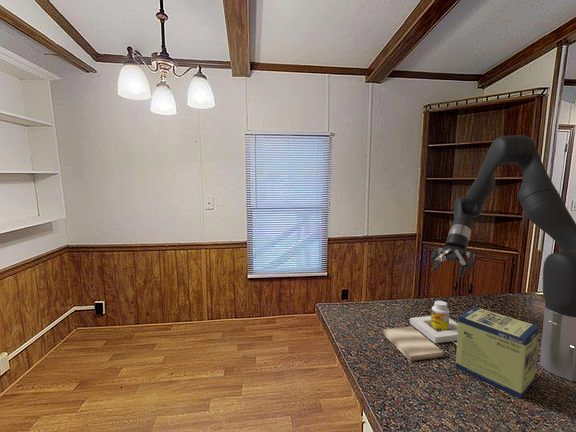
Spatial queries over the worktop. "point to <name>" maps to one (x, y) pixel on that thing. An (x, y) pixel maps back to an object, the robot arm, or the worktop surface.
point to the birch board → (412, 343)
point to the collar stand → (432, 334)
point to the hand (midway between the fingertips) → (447, 272)
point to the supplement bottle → (440, 316)
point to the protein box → (497, 350)
